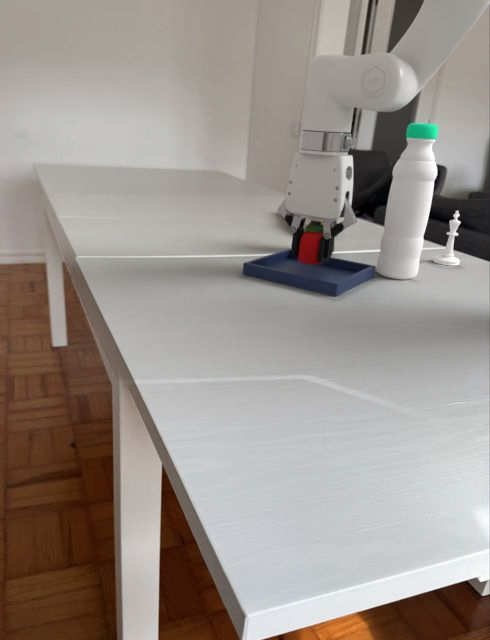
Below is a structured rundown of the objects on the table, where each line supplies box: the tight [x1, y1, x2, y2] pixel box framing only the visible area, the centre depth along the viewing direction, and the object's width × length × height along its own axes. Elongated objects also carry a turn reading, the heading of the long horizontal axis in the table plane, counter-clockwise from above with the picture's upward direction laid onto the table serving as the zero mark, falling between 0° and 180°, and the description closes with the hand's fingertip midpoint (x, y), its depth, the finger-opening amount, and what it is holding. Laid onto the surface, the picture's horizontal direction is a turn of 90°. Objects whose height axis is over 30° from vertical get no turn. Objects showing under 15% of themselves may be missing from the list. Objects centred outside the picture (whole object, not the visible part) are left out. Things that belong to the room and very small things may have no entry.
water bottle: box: [375, 122, 439, 281], centre depth 93 cm, size 7×7×25 cm
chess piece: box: [432, 210, 462, 267], centre depth 106 cm, size 5×5×10 cm
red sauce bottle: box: [298, 226, 324, 264], centre depth 93 cm, size 4×4×6 cm
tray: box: [242, 248, 377, 297], centre depth 94 cm, size 17×15×2 cm
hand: (310, 257), depth 93 cm, fingers closed on red sauce bottle, 4 cm apart
